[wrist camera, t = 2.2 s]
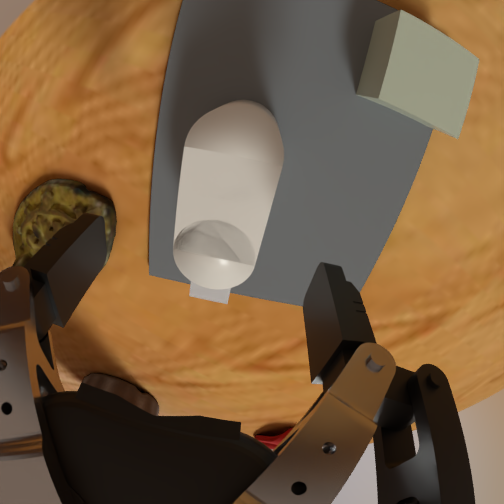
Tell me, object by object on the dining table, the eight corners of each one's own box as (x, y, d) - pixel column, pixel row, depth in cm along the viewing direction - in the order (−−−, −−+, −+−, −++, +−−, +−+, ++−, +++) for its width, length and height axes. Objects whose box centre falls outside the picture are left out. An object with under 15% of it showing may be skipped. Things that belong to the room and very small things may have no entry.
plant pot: (185, 424, 39) (170, 511, 26) (102, 408, 40) (79, 482, 27) (153, 372, 30) (121, 496, 17) (56, 354, 31) (15, 446, 18)
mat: (197, -35, 9) (195, -39, 9) (450, 44, 11) (455, 43, 10) (151, 270, 21) (149, 274, 21) (345, 308, 23) (347, 313, 22)
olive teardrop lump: (88, 140, 17) (8, 225, 21) (45, 152, 13) (-22, 246, 17) (148, 245, 21) (53, 297, 25) (120, 279, 16) (29, 324, 21)
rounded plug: (214, 93, 14) (192, 98, 10) (286, 108, 14) (295, 118, 10) (188, 262, 20) (169, 312, 16) (243, 273, 20) (237, 326, 16)
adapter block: (375, 21, 10) (400, 9, 8) (445, 58, 11) (479, 59, 8) (355, 94, 13) (378, 98, 10) (426, 126, 14) (458, 139, 11)
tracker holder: (247, 446, 42) (258, 443, 34) (255, 425, 45) (267, 418, 37) (310, 462, 40) (332, 461, 33) (316, 442, 43) (339, 436, 36)
